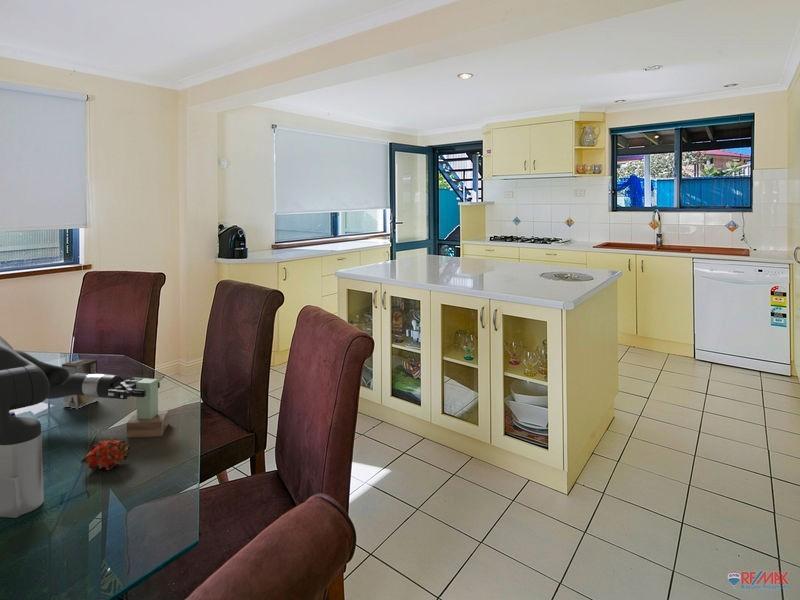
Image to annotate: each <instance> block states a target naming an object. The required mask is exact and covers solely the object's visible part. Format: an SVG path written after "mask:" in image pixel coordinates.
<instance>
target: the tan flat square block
mask: <svg viewBox="0 0 800 600" xmlns="http://www.w3.org/2000/svg"><path fill="white" fill-rule="evenodd" d="M168 425H169V410H158V415H156V416H155V417H153V418H152V419H137V410H136V411H134V413H133V415H132V416H131V417H130V418H129V419H128V421H127V423H126V438H144V437H146V438H147V437H149V438H150V437H162V436H163V435H164V432H165V431H166V429H167V428H168Z"/></svg>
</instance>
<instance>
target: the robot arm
mask: <svg viewBox="0 0 800 600" xmlns="http://www.w3.org/2000/svg"><path fill="white" fill-rule="evenodd" d="M144 378H146V379H151V378H150V377H137V376H136V377H135V376H133V377H131V379H125V380H124V379H123V377H122V376H121V375H119V374H109V373H97V374H85V373H75V374H73V375H71V376H70V377H69V372H68V370H67V369H65V368H63V367H62V366H59V365H54V364H51V363H46V362H45V361H41V360H39V359H37V358H35V357H33V356H32V355H30V354H28V353H27V352H24V351H21V350H19V349H14V348H13V347H12V346H11V344H9V343H8V341H6V340H5V339H4V338H3V337H1V336H0V518H10V519H11V518H13V519H15V518H16V519H17V518H18V517H20V516H22V515H25V514H28V513H31V512H32V511H35V510H37V509H38V508H39V507H41V506H42V505H43V503H44V502H45V501H44V500H45V497H44V472H43V445H42V443H43V442H42V441H43V440H42V439H43V438H42V424H41V422H40V421H39V420H38V419H37V418H33V417H26V416H25V417H24V416H14V415H11V414H10V411H14V410H18V409H19V410H20V409H22V408H23V409H24V408H27V407H31V406H36V405H39V404H42V402H44V401H46V399H47V400H54V399H61V398H63V397H66V396H72V395H83V396H91V397H98V398H101V399H102V398H103V399H116V400H117V399H118V400H128V398H133V397H134V398H135V397H136V398H137V397H145V396H146V391H145V390H138V389H136V382H138V381H140V380H142V379H144ZM160 388H161V382H159V381H158V389H160Z"/></svg>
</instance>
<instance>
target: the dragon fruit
mask: <svg viewBox="0 0 800 600" xmlns="http://www.w3.org/2000/svg"><path fill="white" fill-rule="evenodd" d="M130 449H131V447H130V444H128V443H127V442H126V441H125V440H123V439H122V440H121V439H118V440H117V439H116V438H113V437H110V438H109V440H108V439H105V440H104V439H103V440H100V441H98V443H96V444H94V445H91V447H90V449H89V451H88V452H87V454H86V455H85V456H84V457H83V458H82V460H80V464H81V465H83V463H85V464H87V465H86V469H88V470H92V471H93V470H101V469H103V468H105V469H106V471H110V470H111V469H112V468H114V467H118V466H119V464H121V462H122V461H123V462H125V461H127V460H128V456H129V454H130Z"/></svg>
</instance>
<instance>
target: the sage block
mask: <svg viewBox="0 0 800 600" xmlns="http://www.w3.org/2000/svg"><path fill="white" fill-rule="evenodd" d="M143 378H144V379H142V380H140V381H138V382H136V389H138V390H145V391H146V396H145V397H136V411H137V419H152V418H153V417H155V416H156V415H158V411H159V391H158V390H159V388H158V382H159V379H158V378H150V379H146V378H147V377H143Z"/></svg>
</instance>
